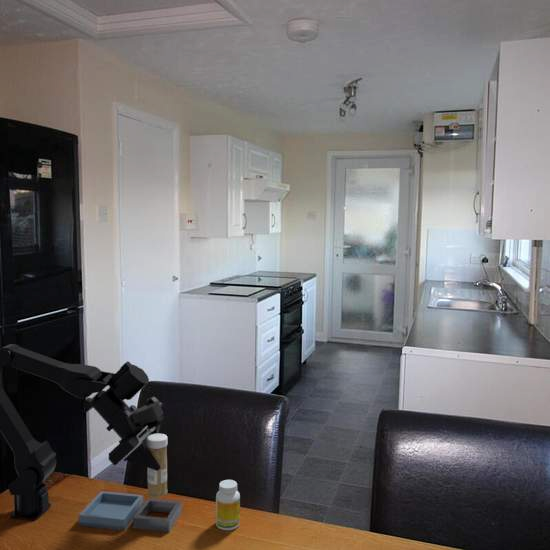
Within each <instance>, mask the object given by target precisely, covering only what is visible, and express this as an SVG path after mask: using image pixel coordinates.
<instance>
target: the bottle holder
mask: <svg viewBox="0 0 550 550" xmlns="http://www.w3.org/2000/svg"><path fill="white" fill-rule="evenodd" d="M182 505H183V502H182V501H180V500H178V501H177V500H171V499H169V500H168V499H161V498H151V497H147V498H146V499H145V501H143V505H142V506H141V507H140V509H139V510H138V511H137V513H136V514H135V515H134V517H133V520H132V529H134V528H135V530H142V531H143V530H144V531H145V530H146V531H154V532H165V533H170V532H171V530H172V529H173V528H174V526H175V523H176V522H177V520H178V519H179V517H180V515H181V514H182V511H183V508H182ZM149 512H156V513H164V514H165V513H166V514H168V516H167V517H154V516H147V515H148V514H149Z"/></svg>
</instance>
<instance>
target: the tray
mask: <svg viewBox="0 0 550 550" xmlns="http://www.w3.org/2000/svg"><path fill="white" fill-rule="evenodd" d="M143 503H144V495H141V494H133V493H124V492H123V493H122V492H114V491H102V490H101V491H99V493H98V494H97V495H96V496H95V497H94V498H93V499H92V500H91V501H90V502H89V504H88V505H87V506H86V507H84V509H83V510H82V511H80V513H79V514H78V526H80V527H86V528H87V527H88V528H89V527H90V528H96V527H97V528H99V529H105V528H110V529H109V530H115V529H120V530H119V531H126V529H127V528H126V527H129V525H130V524H131V522H133V520H132V519H133V517H134V515H135V514H136V513H137V511H138V510H139V509H140V507H141V506H142V505H143ZM129 523H130V524H129Z"/></svg>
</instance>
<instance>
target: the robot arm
mask: <svg viewBox="0 0 550 550" xmlns="http://www.w3.org/2000/svg"><path fill="white" fill-rule="evenodd" d="M4 366H9V367H11V368H14V369H16V370H20V371H22V372H25V373H28V374H31V375H34V376H37V377H39V378H42V379H46V380H48V381H51V382H54V383H55V384H57V385H59V386H60V388H62V389H63V391H65V392H67V393H69V394H70V395H72V396H73V397H76V398H77V399H84V400H83V401H84V403H83V404H84V407H83V413H88V412H90V411H91V410H92V409H94V410H95V411H96V412H97V414H98V415H99V416H100V417H101V418H102V419H103V420H104V422H105V423H106V424H107V425H108V426H106V430H107V431H108V432H111V431H112V430H113V432H114V433H116V435H117V436H118V437H119V438H120V440H119V441H118V443H119V444H117V445H116V446H115V447H114V448H113V449H112V450H111V451H110V452H108V461H110V463H111V464H112V465H113V466H114V467H115V466H116V465H118V464H119V462H121V461H122V460H123V462H130V463H134V464H137V465H141V466H142V467H146V468H147V467H148V468H151V469H153V470H156V471H158V470H159V469H160V468H161V467H160V465H159V463H158V462H157V461H156V459H155V458H154V457H153V455H152V454H151V453H150V451H149V450H148V448H147V437H148V436H150V435H152V434H158V433H159V434H160V428H161V424H160V423H161V422H162V421H163V420H164V418H165V417H164V416H163V415H164V412H163V410H162V406H163V405H164V404H163V403H162V402H161V401H160V400H159V399H158V398H157V397H156V396H151V397H150V398H147V399H146V401H145V405H143V406H141V407H139V408H138V407H137V406H136V405H133V404H131V405H130V406H129V405H128V404H127V402H125V400H127V401H130V400H132V399H133V398H134V397H135V396H137V394H138V393H139V392H140V391H141V390H143V389H144V387H146V386H147V385H148V384H149V383H150V380H149V379H150V378H149V376H148V374H147V373H146V372H145V370H144V369H142V368H141V367H139V366H137V365H136V364H132V363H131V362H130V361H126V362H125V363H124V364H123V365H121V366H120V368H119V369H118V370H117V371H116V372H115V373H113V372H109V371H108V372H107V371H104V370H101V369H100V368H98V367H97V366H93V365H87V364H82V363H66V362H63V361H60V360H58V359H54V358H52V357H49V356H46V355H43V354H42V353H41V354H40V353H38V352H34V351H32V350H29V349H27V348H24V347H21V346H20V345H18V344H16V343H15V344H14V343H11V344H7V345H6V346H3V347H1V348H0V368H3V367H4ZM2 384H3V383H2V373H1V371H0V433H1V434H2V436H3V437H4V440H5V441H6V443H7V444H8V446H9V447H10V449H11V451H12V452H13V457H14V458H13V459H14V469H15V471H16V473H17V477H16V478H15V479H14V480H13V481H12V482H11V483H9V485H8V486H7V489H8V491H9V493H10V495H11V496H13V502H14V503H13V504H14V505H13V506H14V507H13V508H14V510H13V512H11V513H10V515H9V517H10V518H13V519H14V518H15V519H22V520H23V519H24V520H31V521H36V520H37V519H39V518H40V517H41V516H42V515H43V514H44V513H45V512H46V511H47V510H48V509H49V508H50V507H51V506H52V503H50V502H49V491H48V490H47V483H44V482H45V481H46V480H47V479H48V478H49V477H50V475H51V474H52V473H53V472H54V470H55V468H56V466H57V463H58V462H57V458H56V456H57V453H56V452H55V451H54V450H53V448H52V447H51V445H50V442H49V441H47V440H45V441H44V442H43V443H41V442H39V441H38V440H37V439H35V438H34V436H33V435H32V433H31V431H30V430H29V428H28V427H27V425H26V423H24V420H23V419H22V418H21V417H22V416H20V414H19V413H18V411H17V408H16V407H15V406H14V404H13V403H12V401H11V399H10V398H9V396H8V395H7V393H6V391H5V389H4V388H3V385H2ZM107 387H108V389H106V388H107ZM104 389H106V390H104ZM95 393H96V394H95ZM93 394H94V395H93ZM92 395H93V397H90V396H92ZM85 398H86V399H85ZM158 424H159V425H158ZM168 459H169V457H168V455H167V460H168Z"/></svg>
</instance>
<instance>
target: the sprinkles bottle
mask: <svg viewBox="0 0 550 550" xmlns="http://www.w3.org/2000/svg"><path fill="white" fill-rule="evenodd" d="M168 443H169V441H168V436H167V434H164V433H160V432H159V433H158V434H152V435H150V436H148V437H147V448H148V450H149V451H150V453H151V454H152V455H153V457H154V458H155V459H156V461H157V462H158V463H159V465H160V467H161V468H160V469H159V470H158V471H156V470H153V469H151V468H148V467H146V468H147V478H146V479H147V496H148V498H150V499H161V498H164V497H165V496H167V494H168V491H169V490H168V459H167V456H168V455H167V453H168V451H167V450H168V449H167V448H168Z"/></svg>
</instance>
